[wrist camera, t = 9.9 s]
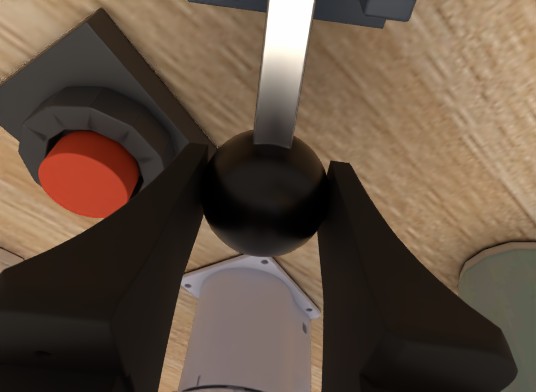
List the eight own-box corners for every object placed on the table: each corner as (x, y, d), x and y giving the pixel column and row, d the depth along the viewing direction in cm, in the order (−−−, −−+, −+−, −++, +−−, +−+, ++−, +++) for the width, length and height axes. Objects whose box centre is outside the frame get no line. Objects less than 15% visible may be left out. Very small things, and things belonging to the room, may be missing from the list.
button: (156, 177, 19) (145, 202, 18) (100, 203, 21) (87, 227, 20) (94, 116, 17) (78, 139, 16) (38, 150, 19) (19, 174, 18)
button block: (231, 165, 23) (221, 208, 20) (131, 209, 26) (112, 251, 23) (101, 6, 17) (65, 38, 14) (-6, 87, 20) (-51, 125, 18)
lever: (312, 215, 15) (319, 292, 12) (209, 202, 15) (187, 276, 12) (403, -187, 9) (472, -268, 6) (229, -214, 9) (192, -311, 5)
